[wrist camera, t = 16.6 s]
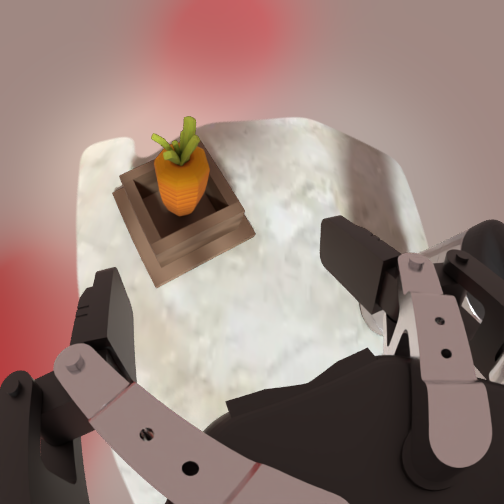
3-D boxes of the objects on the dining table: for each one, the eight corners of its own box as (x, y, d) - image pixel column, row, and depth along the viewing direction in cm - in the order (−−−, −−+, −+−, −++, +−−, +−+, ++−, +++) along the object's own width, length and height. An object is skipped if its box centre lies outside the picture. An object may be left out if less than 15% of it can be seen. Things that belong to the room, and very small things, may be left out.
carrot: (177, 241, 32) (171, 169, 18) (153, 209, 33) (136, 125, 18) (211, 216, 34) (230, 136, 20) (186, 187, 34) (191, 98, 20)
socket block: (203, 155, 37) (206, 127, 31) (254, 236, 35) (265, 217, 30) (113, 196, 33) (102, 171, 27) (156, 288, 31) (148, 277, 26)
